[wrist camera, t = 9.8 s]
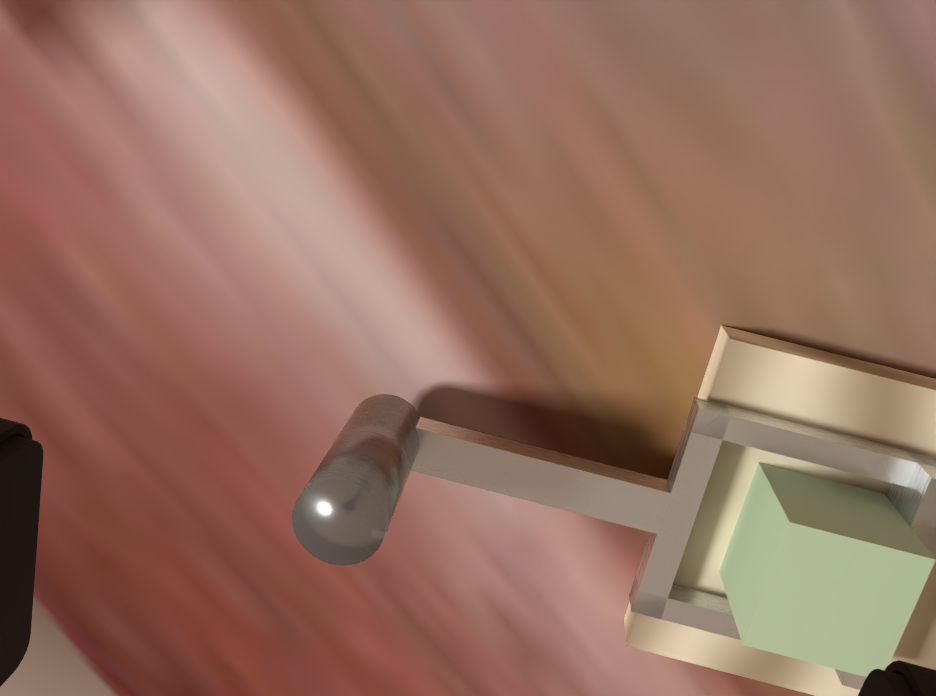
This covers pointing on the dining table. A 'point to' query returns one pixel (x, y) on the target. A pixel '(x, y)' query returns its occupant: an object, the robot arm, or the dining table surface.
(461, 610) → the dining table surface
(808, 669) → the tunnel
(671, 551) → the slider
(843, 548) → the block
